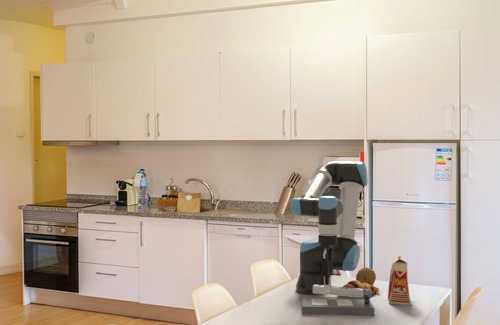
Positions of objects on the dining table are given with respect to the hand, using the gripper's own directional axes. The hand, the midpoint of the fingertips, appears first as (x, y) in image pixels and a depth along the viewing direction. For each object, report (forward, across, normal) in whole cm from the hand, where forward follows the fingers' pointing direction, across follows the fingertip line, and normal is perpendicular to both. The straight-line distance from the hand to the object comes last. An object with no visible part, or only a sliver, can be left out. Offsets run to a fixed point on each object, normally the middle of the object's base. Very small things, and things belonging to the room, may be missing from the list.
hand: (327, 291), depth 229 cm
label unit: (+7, +1, +4) cm, 8 cm away
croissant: (+7, -26, +8) cm, 28 cm away
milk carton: (+7, -22, +26) cm, 35 cm away
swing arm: (+1, -2, +6) cm, 6 cm away
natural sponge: (+7, -38, +9) cm, 40 cm away
